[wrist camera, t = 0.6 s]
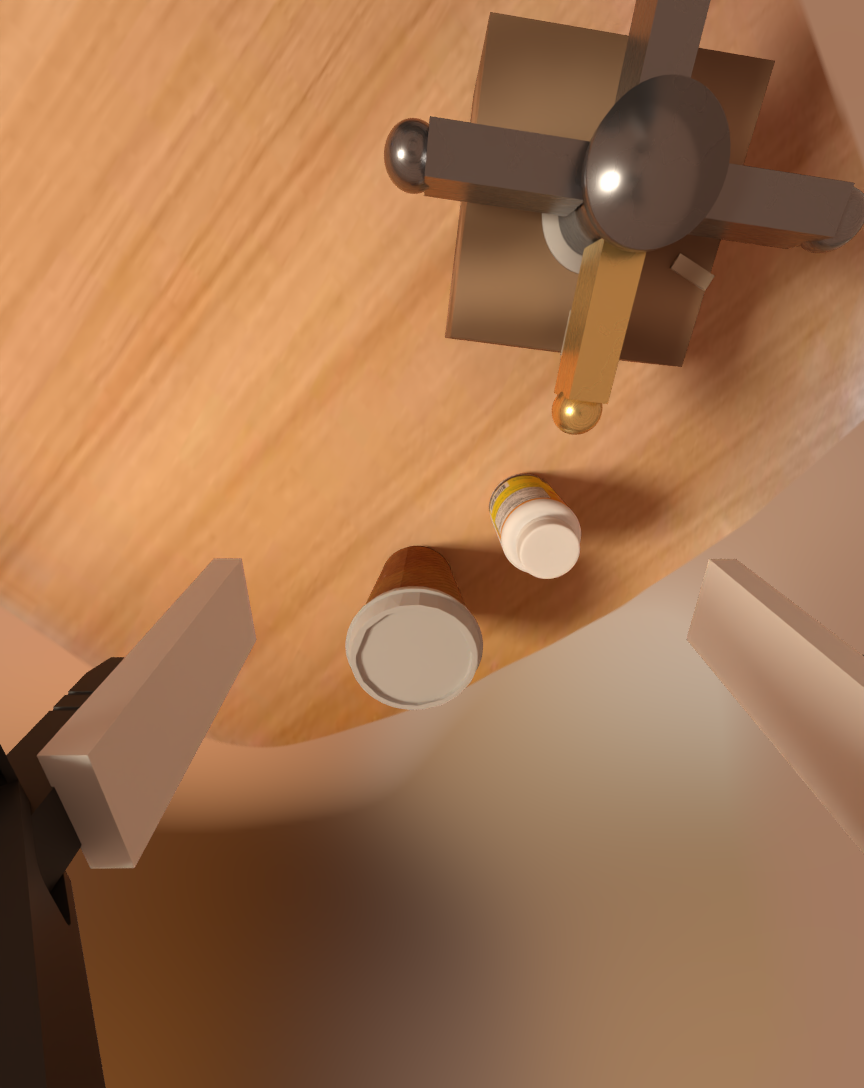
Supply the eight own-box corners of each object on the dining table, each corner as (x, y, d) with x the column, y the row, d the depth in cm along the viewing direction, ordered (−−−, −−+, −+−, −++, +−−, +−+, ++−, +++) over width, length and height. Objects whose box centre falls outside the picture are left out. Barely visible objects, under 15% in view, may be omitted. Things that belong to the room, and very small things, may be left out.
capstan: (411, -141, 20) (405, -358, 14) (902, -48, 21) (1100, -208, 15) (374, 401, 29) (360, 418, 22) (725, 443, 30) (804, 470, 24)
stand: (477, 62, 29) (496, -38, 21) (700, 98, 30) (795, 15, 22) (444, 340, 35) (450, 340, 27) (630, 364, 36) (686, 371, 28)
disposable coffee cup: (424, 507, 40) (424, 570, 29) (490, 584, 43) (512, 668, 32) (341, 570, 42) (312, 651, 31) (409, 640, 45) (404, 736, 34)
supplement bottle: (555, 527, 41) (594, 583, 32) (492, 538, 41) (512, 596, 32) (550, 465, 39) (591, 505, 30) (483, 477, 39) (502, 520, 30)
